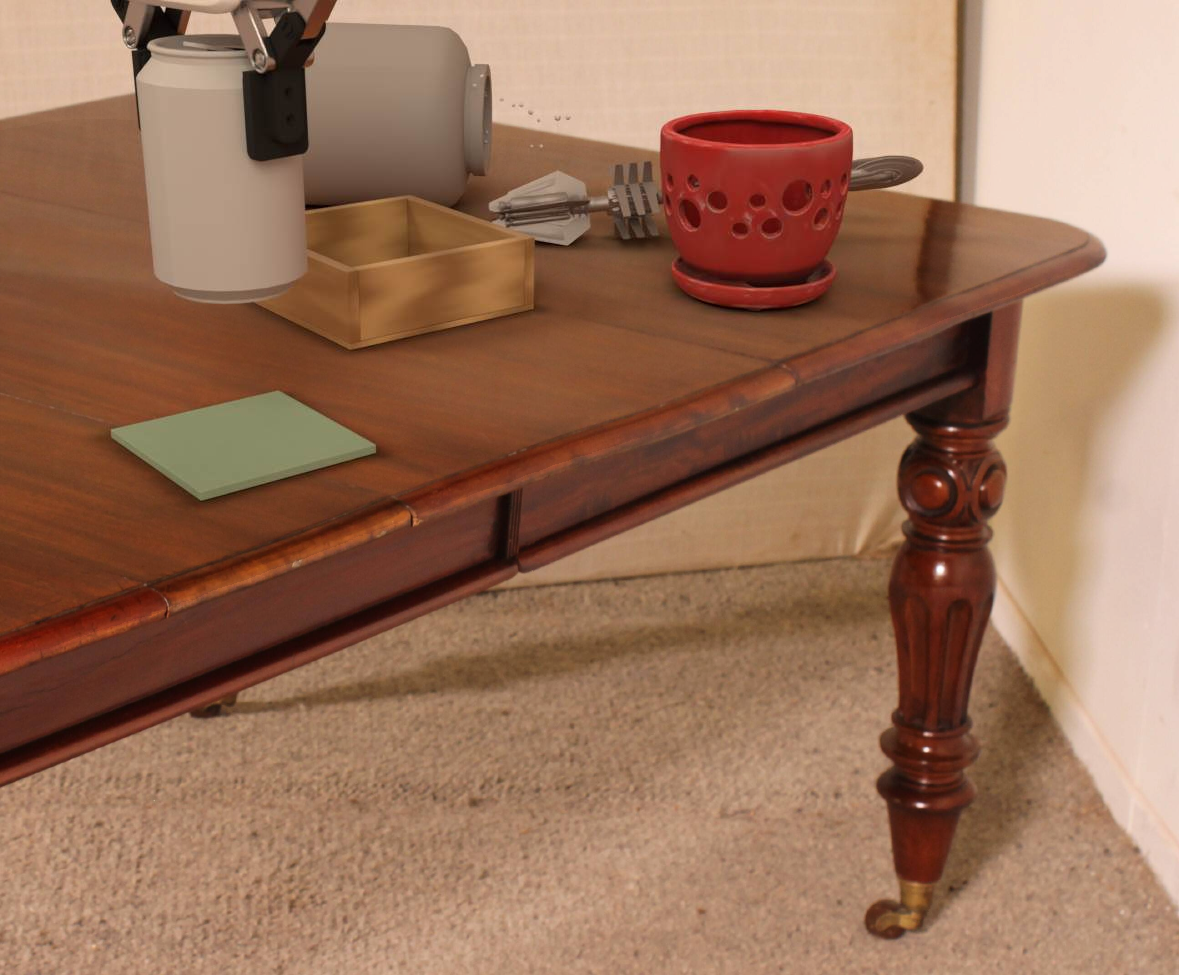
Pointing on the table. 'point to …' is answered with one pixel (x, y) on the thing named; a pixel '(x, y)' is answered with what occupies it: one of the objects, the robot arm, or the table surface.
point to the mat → (241, 444)
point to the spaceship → (638, 199)
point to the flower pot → (754, 204)
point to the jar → (395, 115)
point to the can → (214, 178)
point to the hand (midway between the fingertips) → (222, 141)
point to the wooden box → (405, 272)
